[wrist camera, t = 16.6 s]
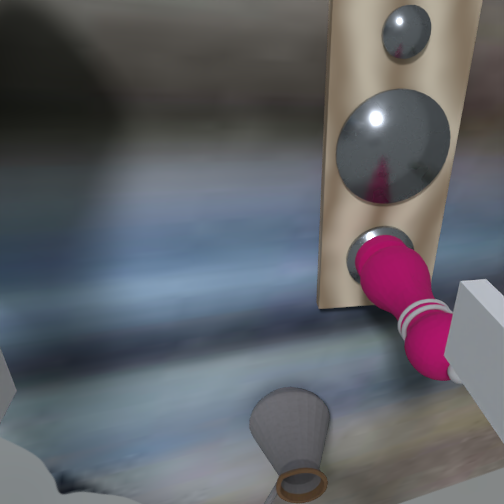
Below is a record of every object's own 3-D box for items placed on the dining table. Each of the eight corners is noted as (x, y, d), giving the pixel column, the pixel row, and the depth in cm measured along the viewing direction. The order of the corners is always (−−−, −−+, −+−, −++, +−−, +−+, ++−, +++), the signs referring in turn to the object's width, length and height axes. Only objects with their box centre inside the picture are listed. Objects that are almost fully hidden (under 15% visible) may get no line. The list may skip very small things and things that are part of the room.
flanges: (332, 204, 50) (333, 206, 49) (343, 7, 41) (345, 7, 40) (437, 198, 50) (440, 200, 50) (471, 2, 41) (475, 2, 41)
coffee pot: (281, 364, 62) (300, 459, 49) (340, 398, 66) (373, 493, 53) (193, 452, 69) (189, 556, 56) (252, 477, 73) (261, 580, 60)
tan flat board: (316, 302, 57) (318, 308, 56) (330, -27, 40) (334, -29, 39) (422, 294, 58) (427, 300, 57) (479, -32, 41) (488, -34, 40)
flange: (344, 287, 55) (345, 289, 54) (348, 228, 51) (349, 230, 51) (407, 282, 55) (409, 285, 55) (416, 223, 52) (418, 225, 51)
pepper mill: (422, 243, 52) (529, 359, 35) (389, 291, 55) (472, 422, 37) (371, 221, 50) (456, 332, 33) (339, 272, 53) (401, 400, 36)
